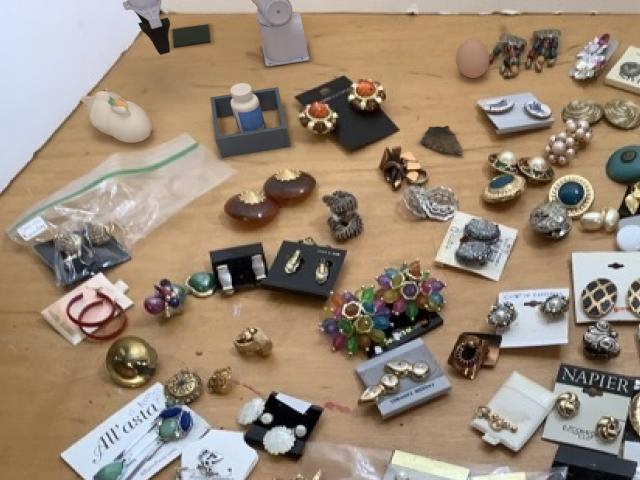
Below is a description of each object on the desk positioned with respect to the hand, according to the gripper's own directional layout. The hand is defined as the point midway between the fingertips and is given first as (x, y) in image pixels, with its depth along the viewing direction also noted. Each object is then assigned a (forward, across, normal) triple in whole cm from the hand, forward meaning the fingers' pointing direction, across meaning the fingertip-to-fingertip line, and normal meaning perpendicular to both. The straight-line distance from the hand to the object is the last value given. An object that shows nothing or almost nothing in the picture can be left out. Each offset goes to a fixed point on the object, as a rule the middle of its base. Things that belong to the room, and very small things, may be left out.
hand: (159, 43), depth 164 cm
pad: (+10, -17, +8) cm, 21 cm away
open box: (+10, +22, +10) cm, 26 cm away
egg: (+10, +26, +58) cm, 64 cm away
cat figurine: (+10, +10, -13) cm, 20 cm away
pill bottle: (+10, +22, +10) cm, 26 cm away
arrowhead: (+10, +44, +43) cm, 62 cm away
